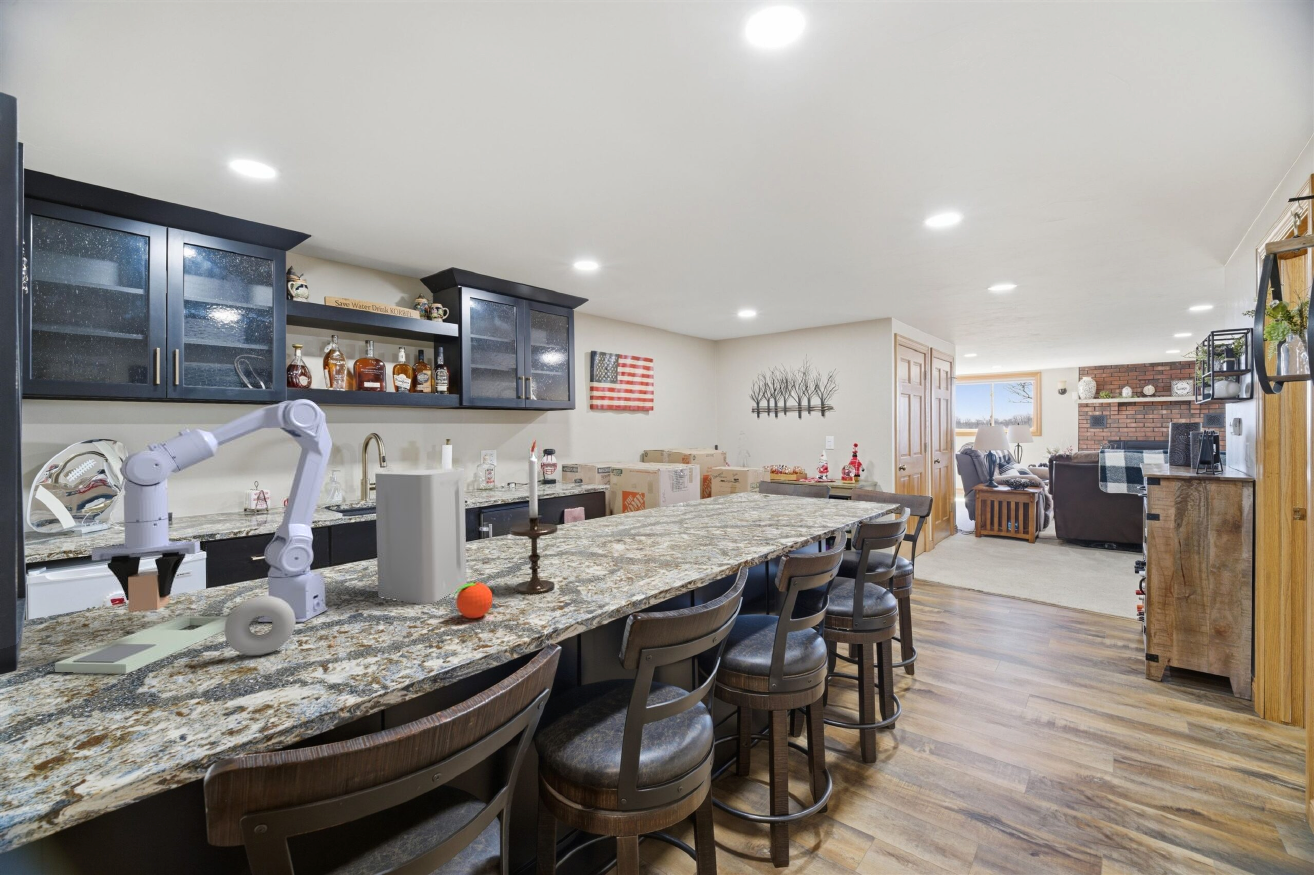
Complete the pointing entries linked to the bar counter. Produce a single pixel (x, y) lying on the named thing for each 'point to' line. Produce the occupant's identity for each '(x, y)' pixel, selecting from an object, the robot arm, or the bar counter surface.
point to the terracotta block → (145, 592)
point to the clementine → (474, 600)
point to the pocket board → (143, 646)
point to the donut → (265, 643)
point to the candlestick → (533, 536)
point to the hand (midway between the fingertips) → (148, 597)
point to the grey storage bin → (420, 534)
